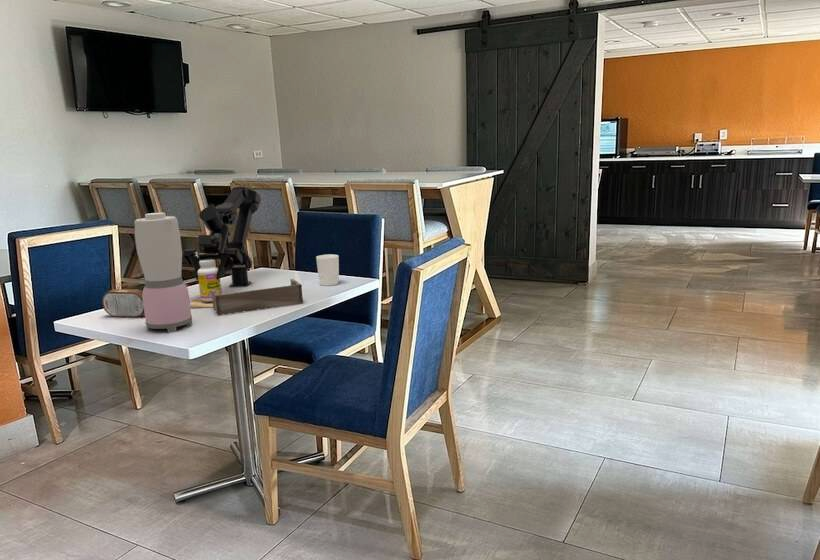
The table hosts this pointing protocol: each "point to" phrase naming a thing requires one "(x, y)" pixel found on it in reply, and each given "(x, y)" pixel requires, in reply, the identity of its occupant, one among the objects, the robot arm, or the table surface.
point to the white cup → (328, 269)
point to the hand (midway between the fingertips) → (207, 279)
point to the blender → (162, 272)
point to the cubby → (257, 299)
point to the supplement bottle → (208, 279)
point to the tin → (124, 303)
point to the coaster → (200, 303)
